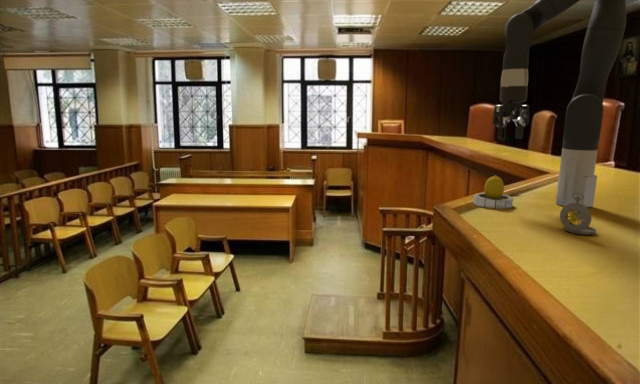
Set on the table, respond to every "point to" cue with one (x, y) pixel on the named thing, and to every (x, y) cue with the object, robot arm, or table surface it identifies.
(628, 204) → the table surface
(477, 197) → the grey stone ring
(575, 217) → the pocket watch
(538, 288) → the table surface
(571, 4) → the robot arm
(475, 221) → the table surface
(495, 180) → the lemon
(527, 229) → the table surface
